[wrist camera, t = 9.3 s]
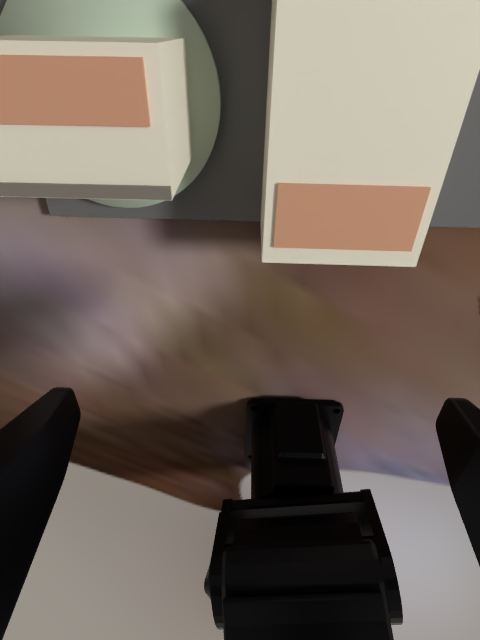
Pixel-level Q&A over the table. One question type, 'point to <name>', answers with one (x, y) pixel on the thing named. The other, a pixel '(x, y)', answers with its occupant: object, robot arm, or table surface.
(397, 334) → the table surface
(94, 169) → the cream block
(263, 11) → the mat
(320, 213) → the cream labeled box
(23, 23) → the coaster
